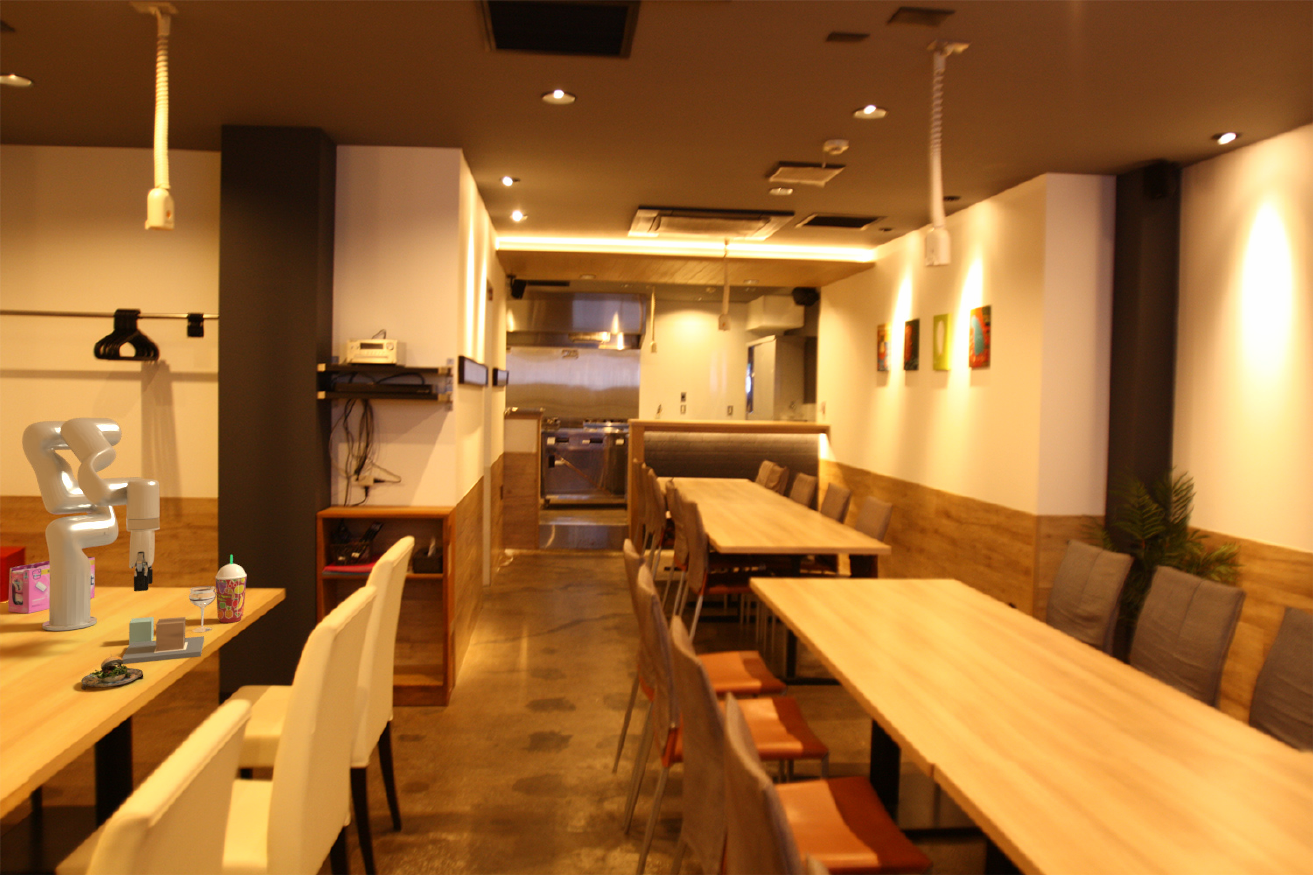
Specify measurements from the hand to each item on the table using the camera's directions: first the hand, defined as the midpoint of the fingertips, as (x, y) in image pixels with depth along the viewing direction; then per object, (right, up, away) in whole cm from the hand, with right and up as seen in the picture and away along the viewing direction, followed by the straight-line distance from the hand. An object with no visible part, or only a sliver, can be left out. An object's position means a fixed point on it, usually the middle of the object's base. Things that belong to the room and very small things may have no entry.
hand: (143, 587), depth 211 cm
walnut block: (+12, -14, -8) cm, 20 cm away
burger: (+13, -17, -30) cm, 37 cm away
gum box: (-53, -13, +36) cm, 65 cm away
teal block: (-1, -15, +1) cm, 15 cm away
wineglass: (+8, -15, +13) cm, 22 cm away
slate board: (+11, -16, -7) cm, 20 cm away
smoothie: (+11, -15, +24) cm, 30 cm away
